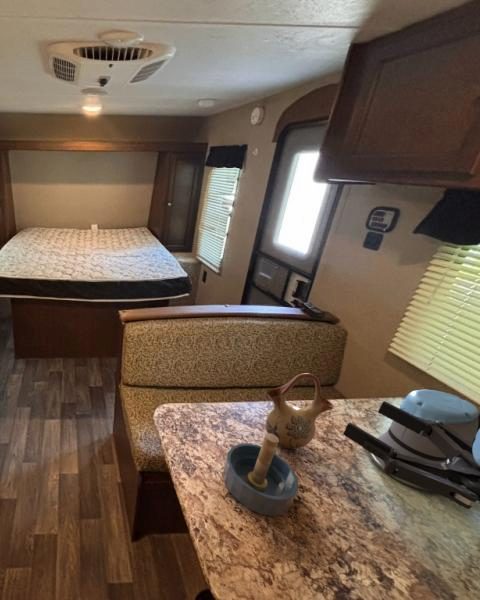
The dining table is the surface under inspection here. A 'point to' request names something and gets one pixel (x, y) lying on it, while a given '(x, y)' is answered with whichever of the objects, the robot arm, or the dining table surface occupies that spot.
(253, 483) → the wooden pestle
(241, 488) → the bowl
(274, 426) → the ceramic vessel
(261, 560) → the dining table surface
